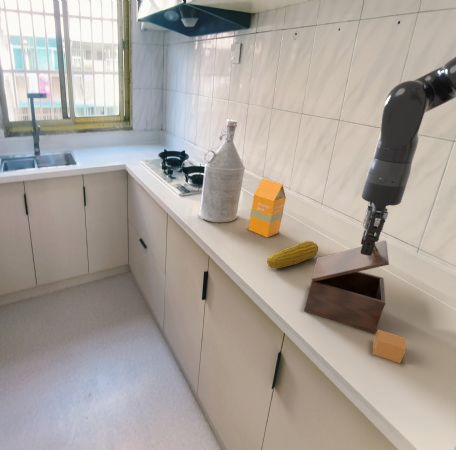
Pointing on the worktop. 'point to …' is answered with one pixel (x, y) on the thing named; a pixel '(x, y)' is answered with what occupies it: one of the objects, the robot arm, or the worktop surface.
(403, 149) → the robot arm
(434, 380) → the worktop surface
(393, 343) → the tan cuboid
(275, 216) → the orange juice
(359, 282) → the bin
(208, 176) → the grey jug
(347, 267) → the bread lid
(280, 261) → the food
